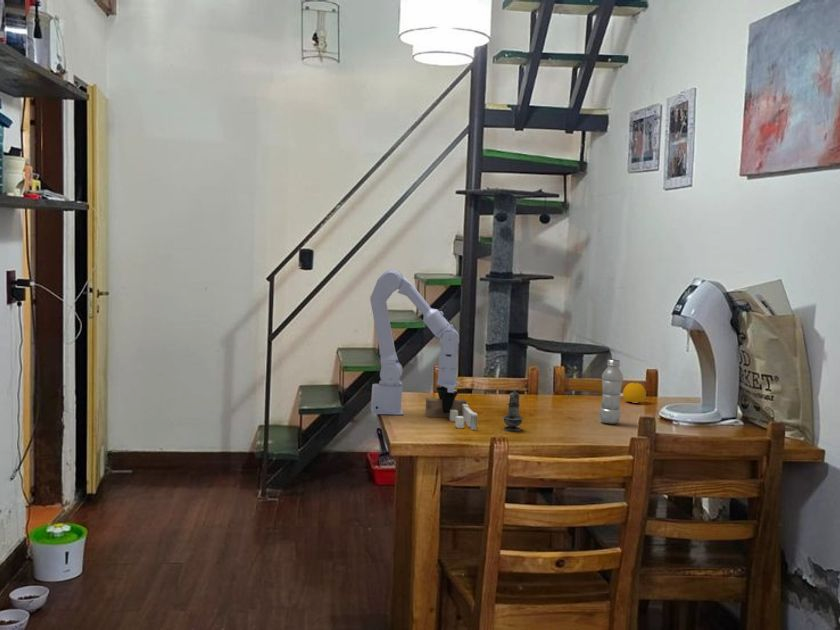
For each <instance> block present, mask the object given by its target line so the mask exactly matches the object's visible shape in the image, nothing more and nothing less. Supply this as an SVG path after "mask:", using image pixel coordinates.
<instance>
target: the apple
mask: <svg viewBox="0 0 840 630" xmlns="http://www.w3.org/2000/svg"><path fill="white" fill-rule="evenodd" d="M622 395H623V396H622V397H623V399H624V401H626V400H627V401H630V402H642V403H644V401H645V400H646V398H647V391H646V389H645V387H644V386H643V384H641V383H638V382H629V383H627V384H626V385H625V387H624V388H623V392H622ZM627 401H626V402H627Z"/></svg>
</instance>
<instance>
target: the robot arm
mask: <svg viewBox="0 0 840 630" xmlns="http://www.w3.org/2000/svg"><path fill="white" fill-rule="evenodd" d="M396 291H397V293H398V294H400V295H403V296H406V297H407V298H408V299H409V300H410V301H411V303H412V304H413V305H414V307H416V308H417V310H418V311H420V313H421V314H422V315H423V319H422V322H423V323H424V325H426V327H428V329H429V330H430V331H431V333H432V334H433V335H434V336H435V337H436V338H439V344H440V351H439V356H438V357H439V359H438V373H437V375H438V377H437V386H436V387H435V389H436V392H437V394H438V399H442V408H443V413H450V410H451V409H452V405H453V402H454V399H456V397H457V395H458V394H459V391H457V390H455V388H456V387H457V386H460V385H461V382H460V381H457V380H458V362H459V353H458V351H459V343H460V334H459V333H458V331H457V329H456V328H455V327H454V325H453V324H452V323H451V324H450V323H449V321H448V319H446V317H444V312H443V311H442V310H439V309H437V308H432V307H431V306H430V305H429V304H428V302H427V301H426V300H425V299H424V297H423V296H422V295H421V293H420V291H418V290H417V288H416V287H415V286H414V284H413V283H411V281H410V280H409V279H407V278H406V277H405V276H403V274H402V272H400V271H399V270H397V269H388V270H386V271H384V272H383V273H382V274H381V275H380V276H379V277H378V278H377V280H376V283H375V286H374V288H373V290H372V293H371V295H370V300H369V301H370V305H371V311H372V312H371V313H372V316H373V322H374V328H375V333H376V338H377V343H378V349H379V355H380V367H381V368H380V372H379V378H380V380H379V383H373V384H371V386H372V387H371V401H370V410H371V413H372V414H373V415H398V416H399V415H404V411H403V410H402V401H403V400H402V398H403V397H402V396H403V383H404V382H402V381H401V377H402V376H403V372H404V371H403V369H404V368H403V365H402V364H401V363H400V362H399V358H398V355H397V352H396V348H395V342H394V337H393V332H392V326H391V321H390V315H389V310H388V305H387V303H388V300H389V299H390V297H391V296H392V294H393V293H394V292H396Z"/></svg>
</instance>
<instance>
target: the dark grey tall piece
mask: <svg viewBox="0 0 840 630" xmlns="http://www.w3.org/2000/svg"><path fill="white" fill-rule="evenodd" d="M507 405H508V410H507V414H506V415H503V416H502V418H503V421H504V424H505V425H506V426H504V427H503V428H502V429H503V430H504V431H505V432H506V431H507V432H512V433H513V432H515V433H516V432H517V433H518V432H521V431H522V429H521V428H520V427H519V426H521V424H522V422H523V420H524V417H523V416H521V415H520V412H519V408H520V406H521V404H520V393H518V392H517V390H516V389H515V388H514V389H513V391H512V392H510V393H509V401H508V404H507Z"/></svg>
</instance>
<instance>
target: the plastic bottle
mask: <svg viewBox="0 0 840 630" xmlns="http://www.w3.org/2000/svg"><path fill="white" fill-rule="evenodd" d="M606 365H607V367H606V368H605V370H604V371H603V372H602V373H601V383H602V384H601V385H602V396H601V397H602V398H601V404H600V407H599V412H598V417H599V421H600V422H602V423H604V424H607V423H610V424H609V425H615V424H619V422H620V420H621V415H622V414H621V408H620V407H621V403H620V402H621V401H620V399H621V390H622V386H623V381H624V376H623V373H622V371H621V369H620V368H619V367H620V365H621V361H620V359H616V358H615V359H614V358H609V359H607V363H606Z"/></svg>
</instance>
